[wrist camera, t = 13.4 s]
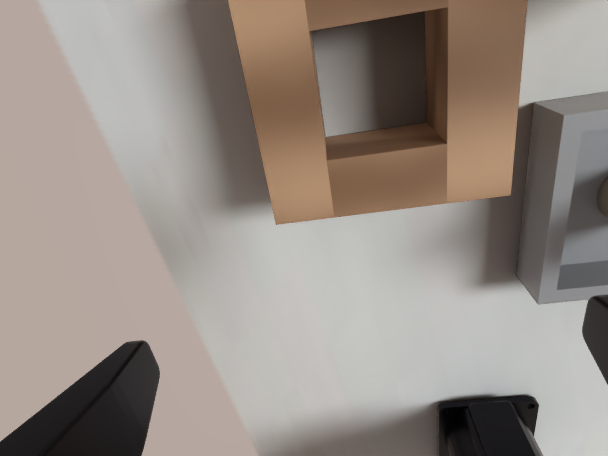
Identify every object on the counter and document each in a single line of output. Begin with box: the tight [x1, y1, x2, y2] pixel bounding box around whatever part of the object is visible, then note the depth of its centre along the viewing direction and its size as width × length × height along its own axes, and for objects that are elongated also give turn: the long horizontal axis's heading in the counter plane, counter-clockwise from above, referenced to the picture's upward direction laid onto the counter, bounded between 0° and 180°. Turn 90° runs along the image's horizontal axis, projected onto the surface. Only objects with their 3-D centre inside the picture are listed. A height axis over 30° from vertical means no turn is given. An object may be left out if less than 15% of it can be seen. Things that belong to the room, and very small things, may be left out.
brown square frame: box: [228, 0, 527, 225], centre depth 17 cm, size 10×10×4 cm
